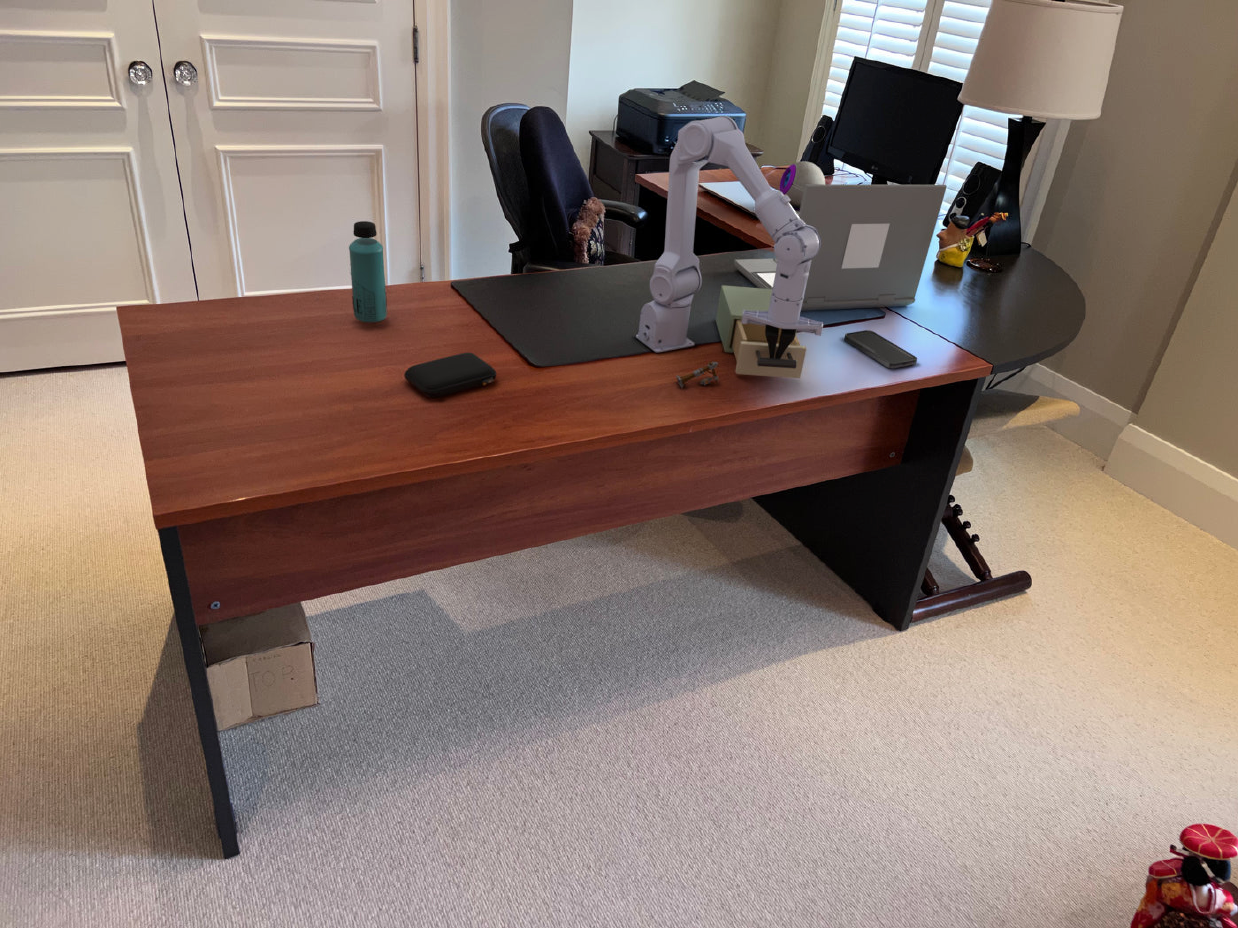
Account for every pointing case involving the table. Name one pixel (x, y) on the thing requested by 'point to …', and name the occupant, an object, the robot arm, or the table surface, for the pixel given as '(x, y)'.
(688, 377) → the wooden post with brackets
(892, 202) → the laptop
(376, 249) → the beverage bottle
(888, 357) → the phone
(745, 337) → the drawer
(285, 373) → the table surface
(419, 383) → the carrying case
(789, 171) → the webcam
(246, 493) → the table surface
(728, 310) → the cabinet
